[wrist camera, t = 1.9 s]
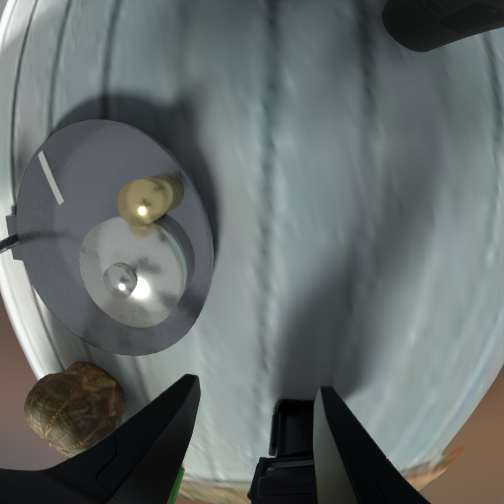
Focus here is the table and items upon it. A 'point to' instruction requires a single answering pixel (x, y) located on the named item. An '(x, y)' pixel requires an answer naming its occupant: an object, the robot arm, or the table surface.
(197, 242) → the platter
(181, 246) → the cover
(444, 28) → the drinking cup
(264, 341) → the table surface
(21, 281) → the table surface
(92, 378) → the shell
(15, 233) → the dial stand
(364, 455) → the robot arm
